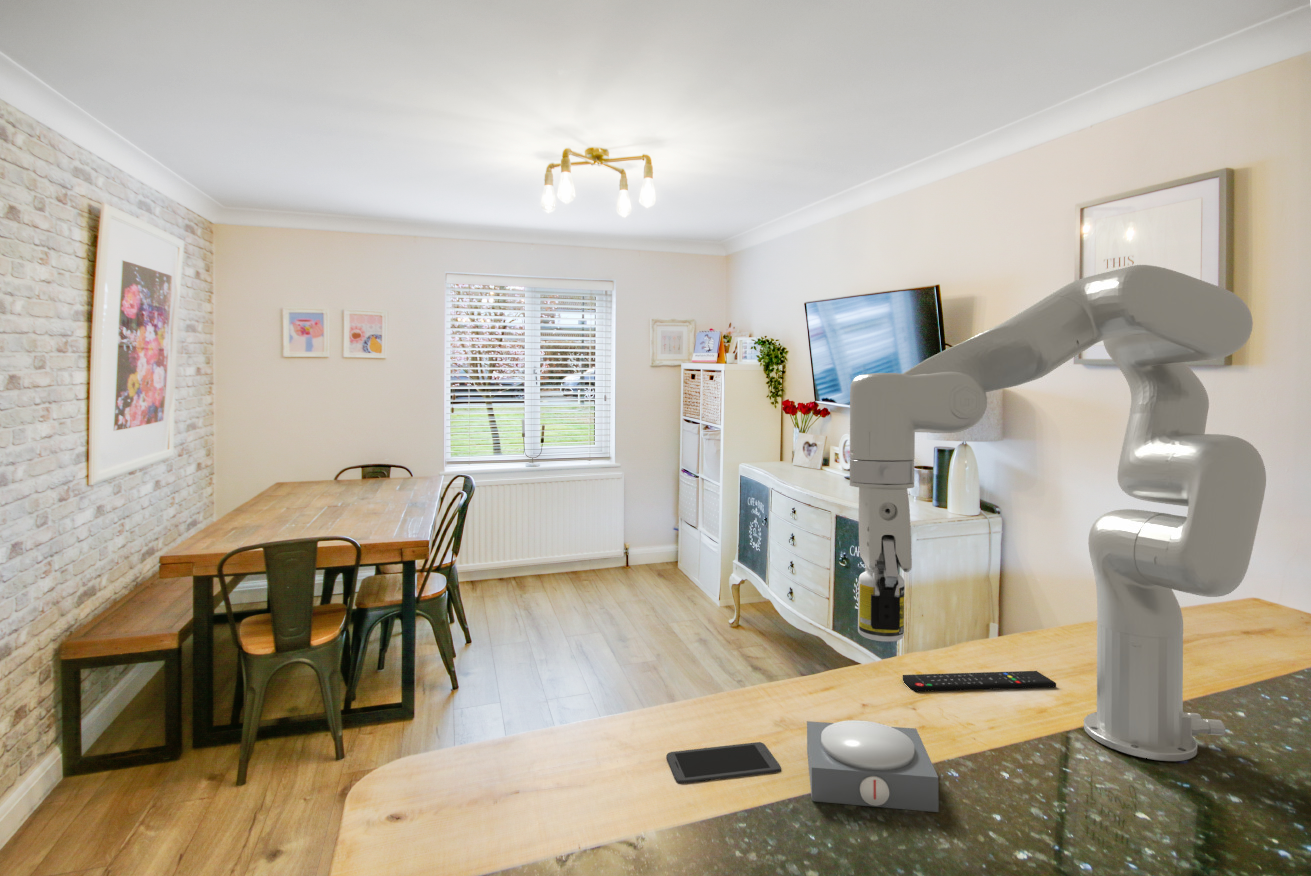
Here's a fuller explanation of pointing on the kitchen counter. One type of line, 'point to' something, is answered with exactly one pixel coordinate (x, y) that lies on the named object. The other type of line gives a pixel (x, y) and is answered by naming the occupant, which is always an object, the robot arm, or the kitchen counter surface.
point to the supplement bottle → (865, 608)
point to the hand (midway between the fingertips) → (880, 619)
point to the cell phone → (721, 762)
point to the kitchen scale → (870, 766)
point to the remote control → (977, 681)
